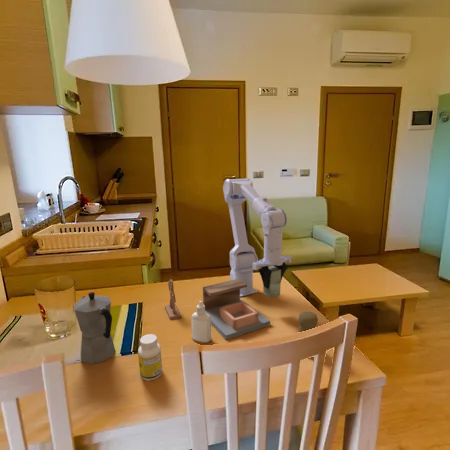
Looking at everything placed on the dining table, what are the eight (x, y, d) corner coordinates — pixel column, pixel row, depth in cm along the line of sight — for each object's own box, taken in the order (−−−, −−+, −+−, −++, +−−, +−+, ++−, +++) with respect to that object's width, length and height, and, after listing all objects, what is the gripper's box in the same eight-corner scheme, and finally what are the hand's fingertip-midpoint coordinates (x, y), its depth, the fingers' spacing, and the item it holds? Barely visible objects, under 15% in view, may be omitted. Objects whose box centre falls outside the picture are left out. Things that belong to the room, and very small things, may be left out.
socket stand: (200, 312, 105) (199, 300, 104) (239, 301, 113) (240, 290, 112) (226, 340, 90) (225, 326, 89) (270, 325, 97) (270, 312, 96)
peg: (263, 293, 104) (263, 268, 102) (272, 290, 106) (273, 265, 104) (270, 297, 101) (271, 272, 99) (280, 295, 103) (281, 269, 100)
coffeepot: (70, 351, 85) (61, 291, 81) (102, 336, 92) (96, 280, 88) (97, 377, 75) (89, 310, 71) (131, 358, 82) (126, 296, 78)
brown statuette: (181, 317, 102) (180, 284, 100) (169, 320, 101) (168, 286, 98) (175, 305, 110) (173, 274, 108) (164, 307, 109) (162, 276, 106)
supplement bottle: (142, 366, 79) (139, 332, 77) (163, 365, 79) (161, 331, 77) (138, 382, 74) (135, 345, 71) (161, 380, 74) (158, 344, 72)
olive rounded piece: (318, 358, 82) (321, 320, 79) (295, 355, 83) (297, 318, 80) (316, 344, 87) (319, 309, 85) (294, 342, 89) (296, 307, 86)
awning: (203, 308, 105) (202, 287, 103) (238, 299, 112) (238, 278, 110) (210, 316, 100) (210, 293, 98) (246, 305, 107) (246, 284, 105)
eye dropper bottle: (200, 346, 87) (199, 307, 84) (190, 337, 91) (188, 300, 89) (213, 340, 89) (212, 303, 87) (202, 332, 94) (201, 295, 91)
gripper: (261, 253, 93) (261, 295, 96) (298, 246, 100) (296, 285, 103) (248, 247, 99) (248, 287, 102) (284, 241, 106) (282, 278, 109)
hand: (271, 285), depth 103 cm, fingers closed on peg, 4 cm apart
